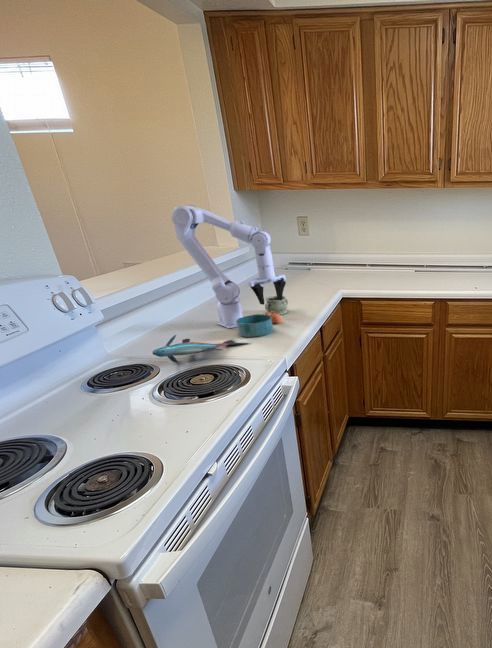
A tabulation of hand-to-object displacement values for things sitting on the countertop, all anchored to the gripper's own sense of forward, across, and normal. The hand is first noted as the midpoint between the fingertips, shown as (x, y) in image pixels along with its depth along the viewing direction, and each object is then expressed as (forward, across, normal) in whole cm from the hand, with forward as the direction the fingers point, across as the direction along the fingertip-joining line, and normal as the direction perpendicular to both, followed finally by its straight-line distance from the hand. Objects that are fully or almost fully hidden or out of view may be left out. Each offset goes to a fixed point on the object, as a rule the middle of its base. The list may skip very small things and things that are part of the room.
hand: (271, 302), depth 158 cm
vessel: (+8, +9, +12) cm, 17 cm away
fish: (+8, -34, -14) cm, 37 cm away
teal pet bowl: (+8, -11, -6) cm, 15 cm away
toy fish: (+8, 0, 0) cm, 8 cm away
